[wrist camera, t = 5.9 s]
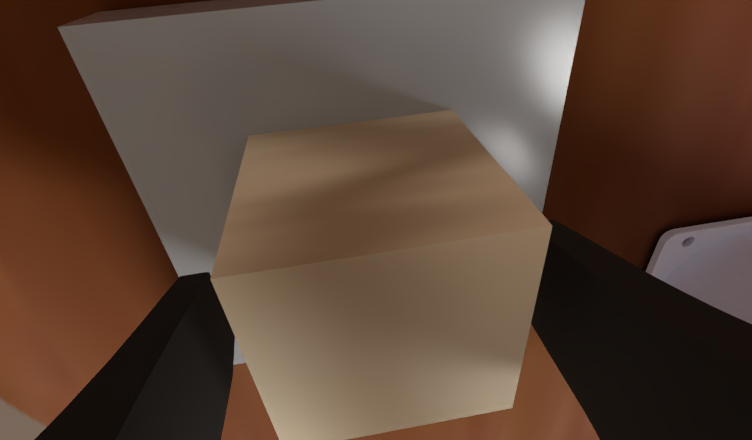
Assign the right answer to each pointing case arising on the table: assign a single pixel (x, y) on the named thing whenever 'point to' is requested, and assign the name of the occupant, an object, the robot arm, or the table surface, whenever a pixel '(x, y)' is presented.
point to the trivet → (313, 88)
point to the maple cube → (379, 275)
